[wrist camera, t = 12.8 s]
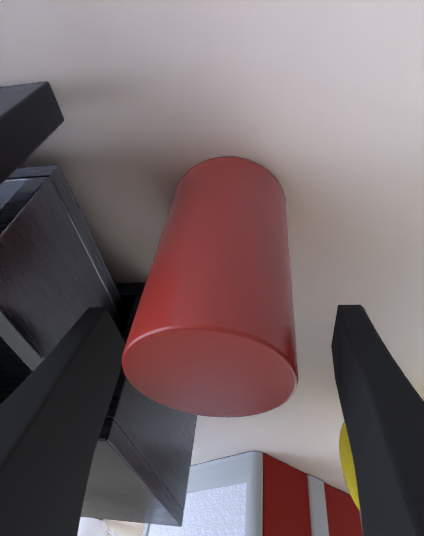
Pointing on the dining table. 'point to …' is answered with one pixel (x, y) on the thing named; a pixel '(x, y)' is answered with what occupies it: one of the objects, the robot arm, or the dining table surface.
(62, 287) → the tray drawer
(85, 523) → the cup
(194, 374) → the spice tin
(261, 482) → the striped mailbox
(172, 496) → the warmer
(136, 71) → the dining table surface
